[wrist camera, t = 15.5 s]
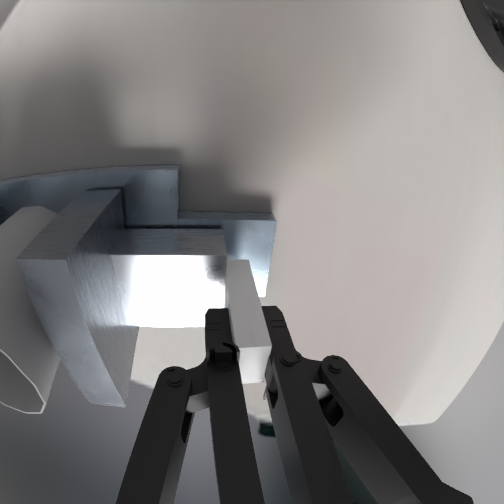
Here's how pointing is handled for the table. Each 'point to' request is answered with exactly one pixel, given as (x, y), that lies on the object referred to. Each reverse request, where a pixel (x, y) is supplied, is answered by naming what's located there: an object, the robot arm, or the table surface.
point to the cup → (22, 320)
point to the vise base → (147, 208)
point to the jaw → (116, 287)
